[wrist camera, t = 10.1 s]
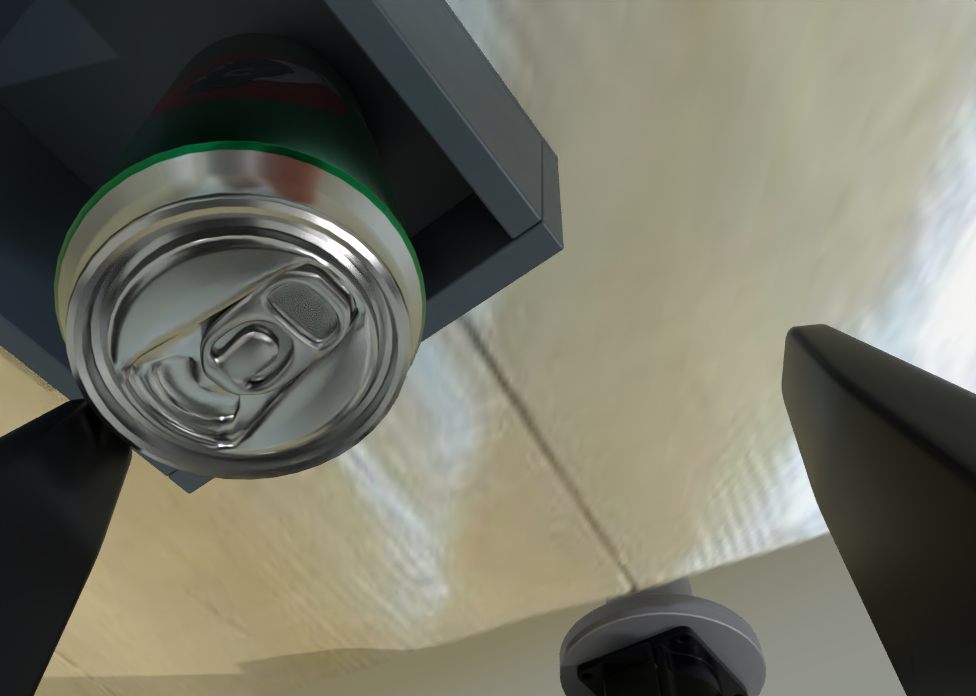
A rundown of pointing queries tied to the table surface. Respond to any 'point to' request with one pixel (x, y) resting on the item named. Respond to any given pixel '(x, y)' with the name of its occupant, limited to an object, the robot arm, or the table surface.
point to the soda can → (243, 271)
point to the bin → (381, 94)
